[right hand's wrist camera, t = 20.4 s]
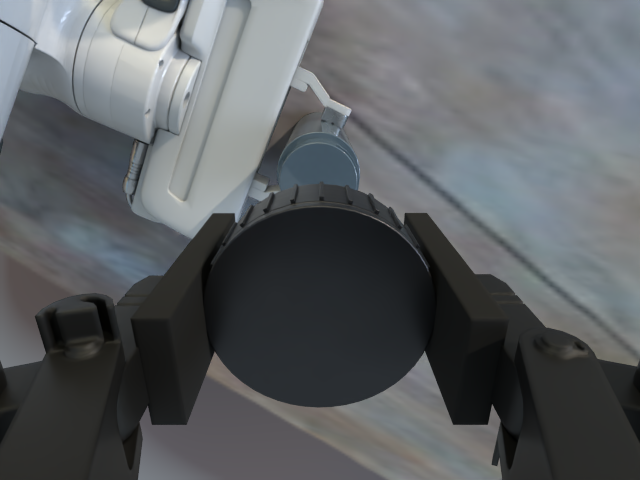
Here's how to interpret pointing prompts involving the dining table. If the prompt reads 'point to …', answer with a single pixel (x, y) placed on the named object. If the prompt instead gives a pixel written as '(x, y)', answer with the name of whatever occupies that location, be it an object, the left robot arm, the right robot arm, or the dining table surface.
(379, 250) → the lid
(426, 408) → the dining table surface
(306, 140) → the jar
